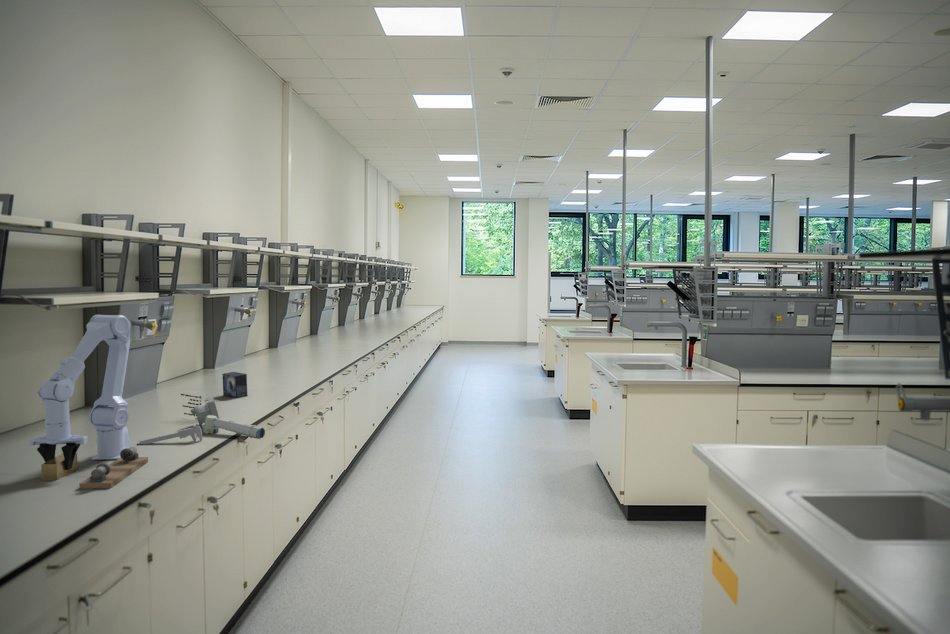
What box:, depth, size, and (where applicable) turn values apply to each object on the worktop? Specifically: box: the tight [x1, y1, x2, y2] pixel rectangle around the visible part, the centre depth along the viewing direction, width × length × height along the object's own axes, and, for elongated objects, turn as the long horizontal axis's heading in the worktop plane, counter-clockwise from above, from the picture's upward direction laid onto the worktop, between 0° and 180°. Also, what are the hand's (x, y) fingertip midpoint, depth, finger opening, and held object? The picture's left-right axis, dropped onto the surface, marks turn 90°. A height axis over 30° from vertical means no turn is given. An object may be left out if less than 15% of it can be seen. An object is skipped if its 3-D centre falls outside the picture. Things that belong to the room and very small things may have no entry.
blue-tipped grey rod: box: [201, 415, 266, 440], centre depth 212 cm, size 5×7×25 cm
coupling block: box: [40, 452, 79, 482], centre depth 171 cm, size 10×4×4 cm, turn 5°
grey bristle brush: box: [180, 393, 220, 427], centre depth 229 cm, size 27×11×10 cm, turn 60°
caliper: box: [136, 423, 203, 445], centre depth 203 cm, size 20×1×6 cm, turn 102°
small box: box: [222, 371, 248, 399], centre depth 278 cm, size 11×6×10 cm, turn 54°
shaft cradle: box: [78, 446, 149, 490], centre depth 171 cm, size 22×8×6 cm, turn 5°
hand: (60, 469), depth 171 cm, fingers closed on coupling block, 4 cm apart
